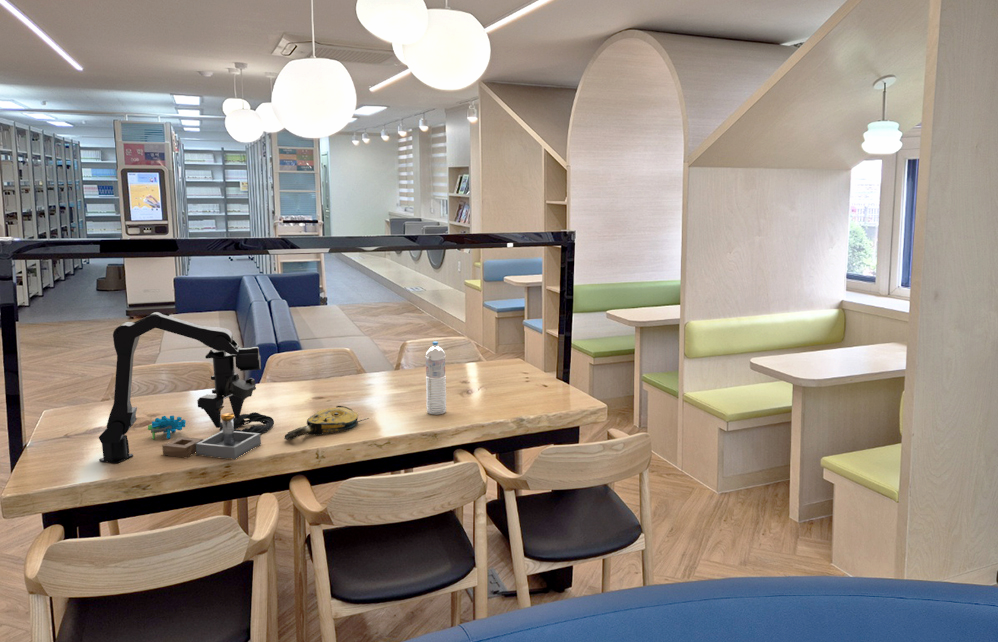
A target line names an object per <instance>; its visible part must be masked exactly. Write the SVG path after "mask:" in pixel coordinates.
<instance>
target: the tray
mask: <svg viewBox="0 0 998 642" xmlns="http://www.w3.org/2000/svg"><path fill="white" fill-rule="evenodd" d="M203 439H204V440H202V441H200V442H198V443H196V453H195V454H196V456H199V455H203V456H202V457H208V456H212V458H218V457H220V459H227V458H232V459H231V460H236V458H237V459H238V457H239V456H240V457H242V456H244V455H245V454H247V453H248V451H249V452H250V450H251V449H252V450H254V449H256V448H257V446H258V445H259V446H261V445H262V438H261V434H260V433H250V432H239V431H234V444H235V446H225V445H224V440H223V430H222V431H220V430H219V432H216V433H215V434H213V435H211V436H209V437H207V438H203ZM260 444H261V445H260ZM259 446H258V447H259ZM255 447H256V448H255ZM253 448H254V449H253ZM252 450H251V451H252ZM246 452H247V453H246ZM244 453H245V454H244ZM243 454H244V455H243ZM241 455H242V456H241ZM240 457H239V458H240Z"/></svg>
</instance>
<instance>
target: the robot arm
mask: <svg viewBox="0 0 998 642" xmlns="http://www.w3.org/2000/svg"><path fill="white" fill-rule="evenodd" d="M154 329H158V330H161V331H166V332H168V333H173V334H175V335H179V336H181V337H182V336H183V337H186V338H190V339H192V340H193V339H194V340H196V341H198V342H200V343H202V344H203V345H204V346H206V347H208V348H210V350H209V351H208V353H206V355H205V357H204V358H205V359H212V365H213V366H212V367H213V375H212V376H210V380H211V381H214V389H212V390H211V393H212V394H206V395H203V396H200V397H199V398H198V399H197V408H200V409H201V410H204V412H205V413H206V415H208V417H209V419H210V420H211V422H212V423H213V425H214V426H215V428H217V429H220V423H222V422H221V420H222V419H221V415H222V414H221V411H222V410H223V408H224V407H225V405H224V400H225V399H229V403H230V406H231V409H232V413H233V414H234V418H239V416H240V415H241V412H242V408H243V406H244V402H245V400H246V399H247V398H249V397H252V396H253V391H255V390H257V387H256V380H255V378H252V377H250V378H247V379H246V380H245V379H243V380H241V379H240V375H238V374H239V373H235V372H236V371H235V368H237V369H238V370H240V372H243V371H260V370H261V369H262V366H261V365H262V363H261V359H262V358H261V355H260V348H259V346H253V347H242V346H240V344H238V342H237V341H236V340H235V339H234V336H233V333H232V330H230V329H228V328H225V327H218V326H204V325H199V324H196V323H192V322H190V321H186V320H183V319H180V318H176V317H172V316H169V315H167V314H162V313H161V312H158V311H156V312H153V313H151V314H149V315H147V316H146V317H143V318H140V319H138V320H136V321H133V322H132V321H125V322H123V323H122V324H120V325H118V326H117V327H116V328H115V329H114V331H113V332H112V333H113V334H112V338H113V345H114V350H115V352H116V365H115V367H116V369H115V381H114V382H115V383H114V396H113V404H112V407H111V411H110V412H109V416H108V418H107V419H108V420H107V423H106V428H104V429H105V430H103V432H101V434H100V435H99V436H98V440H99V442H101V449H102V457H101V458H100V459H99V460H98V462H102V463H111V464H118V463H122V462H124V461H126V460H127V459H130V458H132V457H134V454H133V453H130V445H129V439H128V435H127V433H128V432H129V431H130V429H131V428H132V426H133V425H134V423H135V422H136V421H137V416H136V414H137V410H138V407H137V406H134V407H133V405H132V402H131V398H132V396H131V394H132V381H133V369H134V368H133V367H134V356H135V351H136V349H137V346H138V343H139V340H140V338H141V336H142V335H144V334H146V333H148V332H150V331H151V330H154ZM234 359H235V360H234Z"/></svg>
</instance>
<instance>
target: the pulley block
mask: <svg viewBox="0 0 998 642" xmlns="http://www.w3.org/2000/svg"><path fill="white" fill-rule="evenodd" d="M358 419H359V413H358V411H354V409H352V408H349V407H347V406H343V405H336V406H335V407H330V408H325V409H322V410H319V411H317V412H315V413H314V414H313V415H311V416H310V417H308V418H307V420H306V425H304V426H300V427H297V428H295V429H293V430H290V431H289V432H288V431H287V433H286V434H285V435H284V440H286V441H289V440H292V439H295V438H298V437H301V436H304V435H309V436H320V435H326V434H335V433H342V432H347V431H350V430H351V431H352V430H353V429H355V428H356V427H357V426H358V425H359V422H363V421H366V420H368V419H370V417H367V418H364V419H360V420H358Z"/></svg>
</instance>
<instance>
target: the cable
mask: <svg viewBox="0 0 998 642" xmlns="http://www.w3.org/2000/svg"><path fill="white" fill-rule="evenodd" d="M250 423H260V424H264V425H251V426H250V427H244V428H243V429H239V428H241V427H243V426H246V425H249V424H250ZM274 424H275V421H274V418H273V417H271V416H269V415H265V414H261V413H259V412H250V413H243V414H240V416H239V418H235V417H234V418H233V427H234V431H239V432H250V433H260V435H262V434H263V433H266V432H268V431H269V430H271V428H273V426H274ZM218 429H219V432H220V431H222V430H223V424H222V422H221V423H220V428H218Z"/></svg>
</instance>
